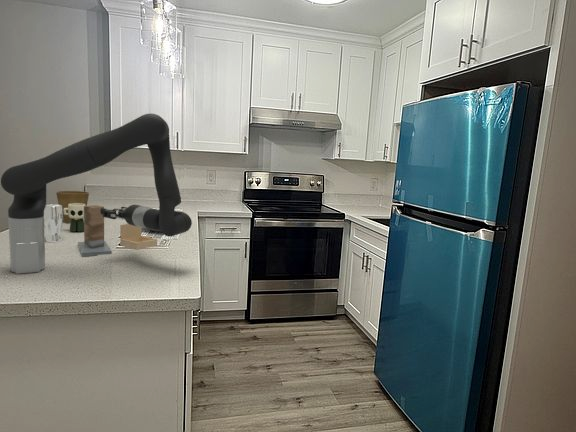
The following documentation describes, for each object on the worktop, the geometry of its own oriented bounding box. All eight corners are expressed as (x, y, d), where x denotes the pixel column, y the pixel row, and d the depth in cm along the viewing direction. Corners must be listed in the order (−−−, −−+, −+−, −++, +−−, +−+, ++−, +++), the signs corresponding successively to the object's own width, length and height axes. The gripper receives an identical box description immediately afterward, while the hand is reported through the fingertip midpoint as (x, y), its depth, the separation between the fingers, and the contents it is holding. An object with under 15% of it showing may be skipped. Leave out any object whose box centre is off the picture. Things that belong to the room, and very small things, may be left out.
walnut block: (104, 246, 148) (104, 206, 146) (92, 248, 144) (92, 207, 142) (96, 244, 151) (95, 205, 148) (84, 246, 146) (83, 206, 144)
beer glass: (59, 238, 162) (58, 203, 160) (66, 241, 158) (65, 206, 156) (41, 240, 157) (40, 204, 155) (47, 243, 153) (46, 206, 151)
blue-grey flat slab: (111, 254, 143) (111, 250, 143) (82, 257, 137) (81, 253, 137) (104, 244, 158) (104, 240, 157) (77, 245, 152) (77, 242, 152)
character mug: (63, 233, 172) (62, 205, 170) (64, 230, 178) (64, 203, 176) (89, 232, 176) (89, 205, 174) (90, 229, 183) (90, 203, 181)
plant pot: (90, 224, 195) (90, 193, 193) (57, 225, 187) (56, 193, 185) (88, 219, 208) (87, 190, 205) (56, 220, 200) (56, 190, 197)
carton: (167, 246, 161) (167, 225, 160) (136, 253, 147) (136, 230, 146) (146, 241, 167) (146, 221, 166) (114, 247, 153) (114, 225, 152)
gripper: (157, 204, 138) (128, 199, 145) (124, 207, 125) (94, 201, 133) (157, 224, 139) (127, 218, 146) (124, 229, 127) (93, 221, 134)
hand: (111, 210), depth 140 cm, fingers open, 8 cm apart
